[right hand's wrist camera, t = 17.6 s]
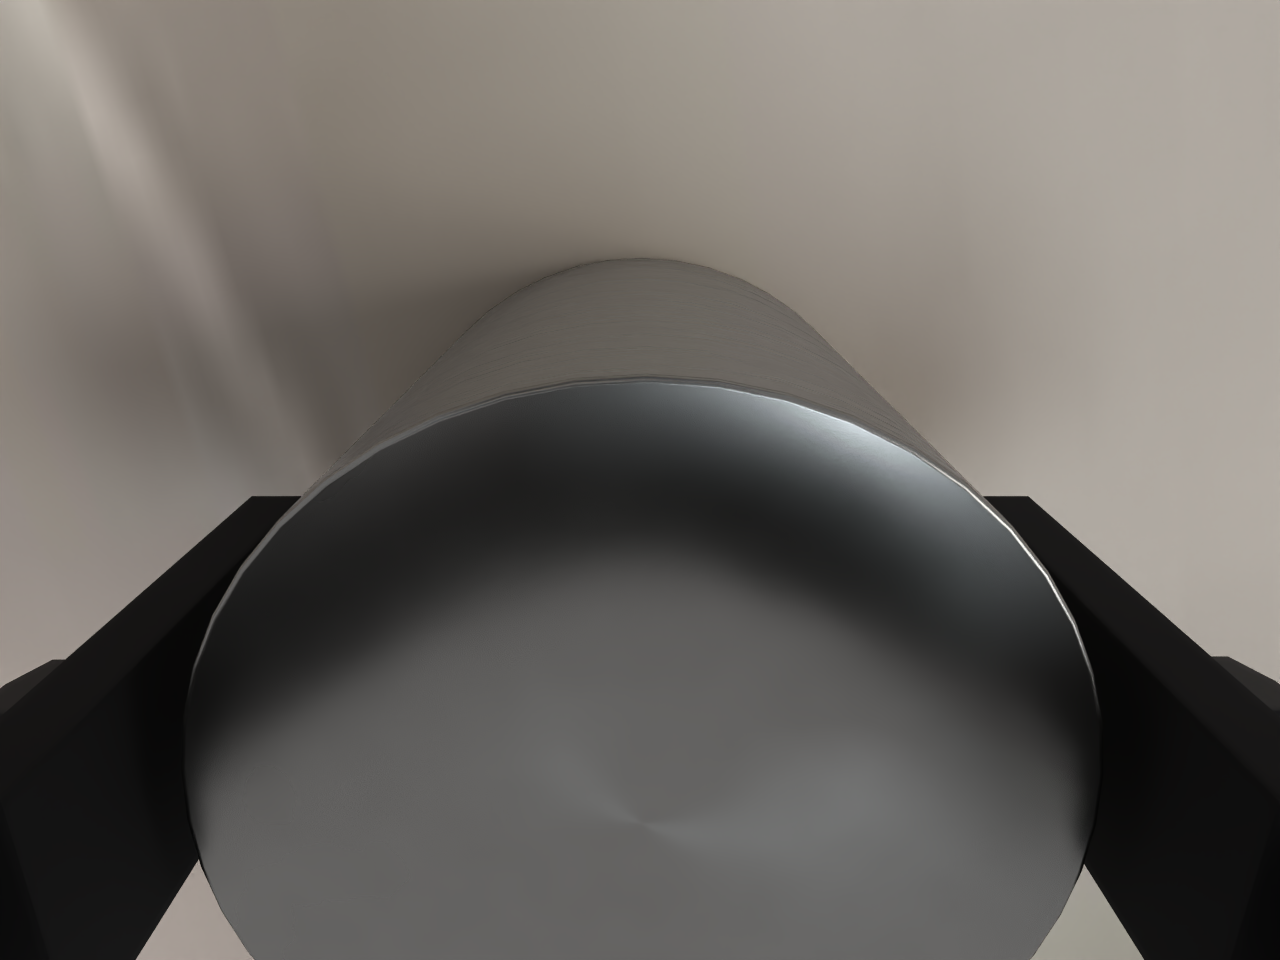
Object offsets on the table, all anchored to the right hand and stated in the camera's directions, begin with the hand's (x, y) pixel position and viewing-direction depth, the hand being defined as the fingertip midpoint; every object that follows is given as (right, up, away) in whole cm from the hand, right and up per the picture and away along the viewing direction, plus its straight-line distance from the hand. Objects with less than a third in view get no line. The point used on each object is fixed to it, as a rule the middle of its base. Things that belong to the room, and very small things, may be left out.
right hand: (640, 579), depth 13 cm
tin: (0, +1, +3) cm, 3 cm away
